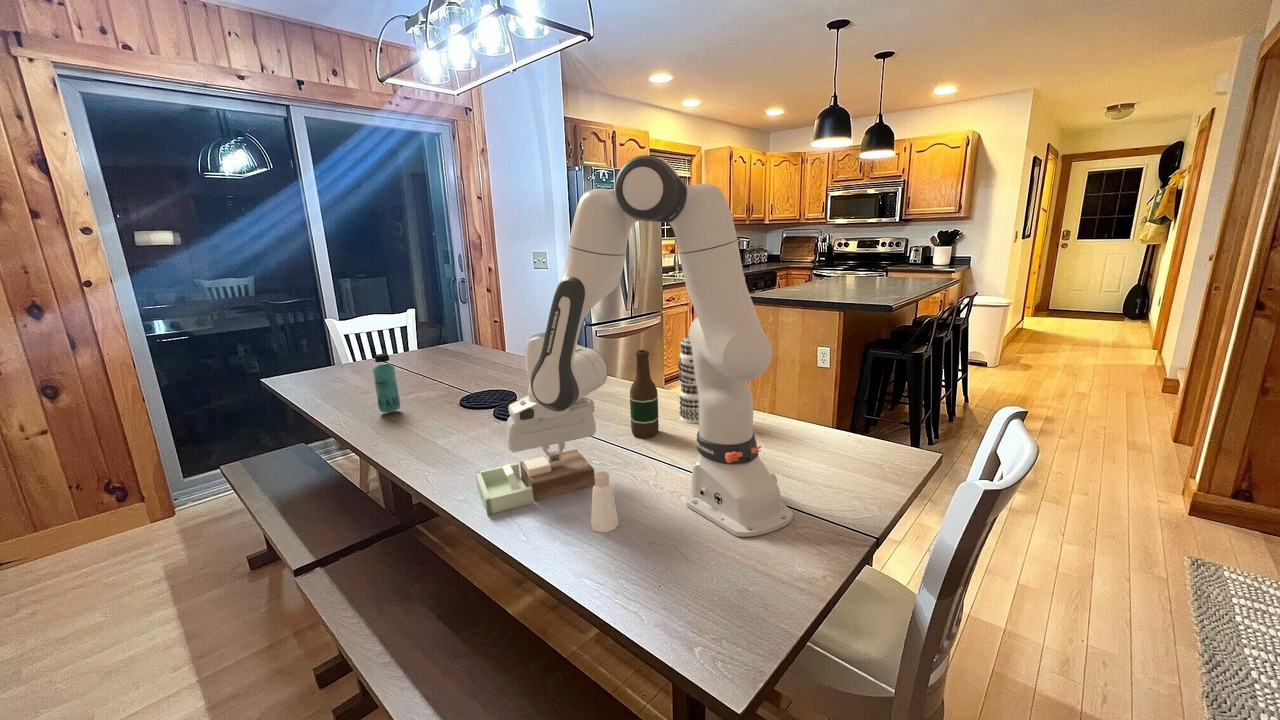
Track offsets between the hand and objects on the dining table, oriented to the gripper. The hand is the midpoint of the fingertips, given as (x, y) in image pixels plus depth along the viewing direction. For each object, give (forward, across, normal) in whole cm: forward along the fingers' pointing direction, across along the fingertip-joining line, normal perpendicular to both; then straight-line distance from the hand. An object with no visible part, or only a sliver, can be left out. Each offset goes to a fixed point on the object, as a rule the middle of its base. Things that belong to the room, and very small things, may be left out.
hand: (554, 460), depth 116 cm
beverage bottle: (+6, +35, -72) cm, 80 cm away
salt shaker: (+5, -4, +22) cm, 23 cm away
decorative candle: (+5, -48, -18) cm, 52 cm away
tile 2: (+1, +4, 0) cm, 4 cm away
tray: (+5, +12, 0) cm, 13 cm away
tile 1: (+2, +9, 0) cm, 9 cm away
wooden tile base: (+5, 0, 0) cm, 5 cm away
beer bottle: (+5, -30, -15) cm, 34 cm away
